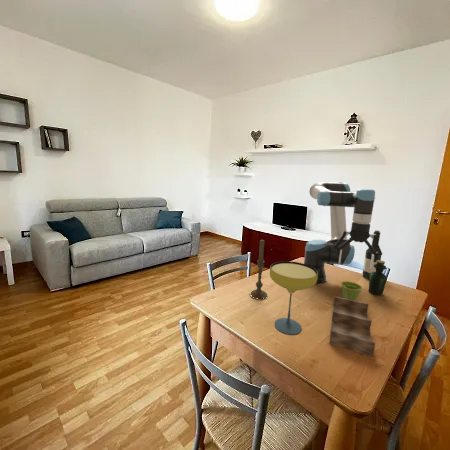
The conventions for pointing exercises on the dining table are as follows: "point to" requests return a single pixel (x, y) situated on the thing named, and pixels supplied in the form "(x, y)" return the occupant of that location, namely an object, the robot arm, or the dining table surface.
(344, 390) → the dining table surface
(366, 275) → the wine bottle
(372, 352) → the rack
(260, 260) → the candlestick holder
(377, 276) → the potion bottle
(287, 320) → the cocktail glass
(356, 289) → the plant pot
